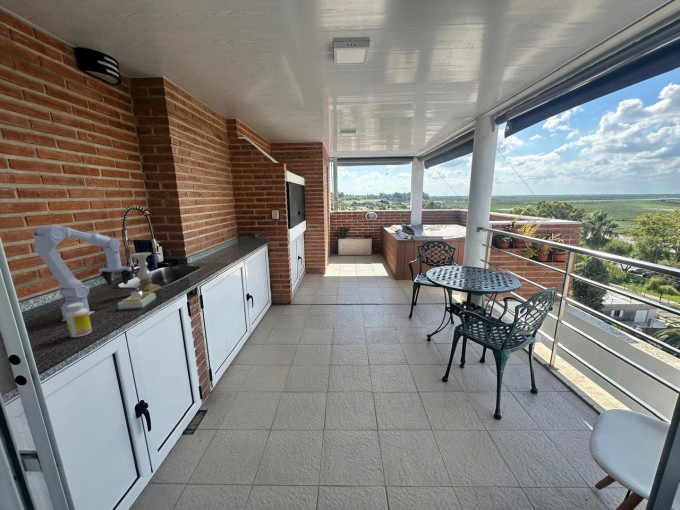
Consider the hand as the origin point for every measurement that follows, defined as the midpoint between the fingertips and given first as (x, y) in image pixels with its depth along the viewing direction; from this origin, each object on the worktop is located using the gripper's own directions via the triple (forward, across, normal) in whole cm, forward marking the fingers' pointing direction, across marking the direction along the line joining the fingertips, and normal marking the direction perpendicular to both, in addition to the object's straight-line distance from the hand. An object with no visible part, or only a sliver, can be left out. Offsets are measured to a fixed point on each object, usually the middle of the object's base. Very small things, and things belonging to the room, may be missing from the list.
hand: (118, 284), depth 148 cm
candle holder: (+10, -6, -15) cm, 19 cm away
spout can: (+9, -12, +7) cm, 17 cm away
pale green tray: (+10, -12, +7) cm, 17 cm away
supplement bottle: (+10, -7, +40) cm, 42 cm away
